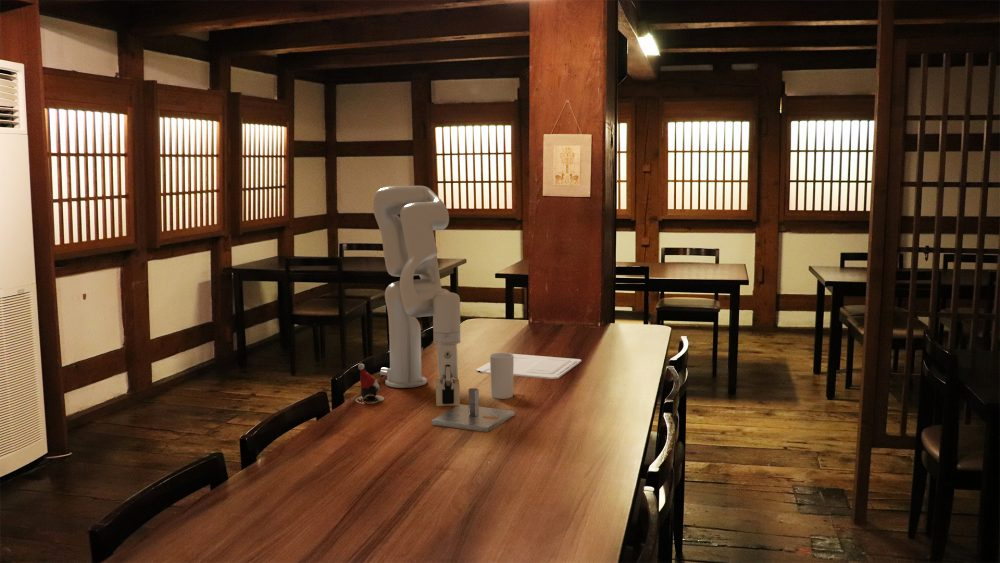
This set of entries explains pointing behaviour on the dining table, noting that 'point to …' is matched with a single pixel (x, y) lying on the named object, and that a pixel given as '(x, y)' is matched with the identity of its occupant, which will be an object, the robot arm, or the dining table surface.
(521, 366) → the tray
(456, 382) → the hollow square tube
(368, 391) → the figurine
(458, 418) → the square peg base
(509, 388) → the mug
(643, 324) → the dining table surface
